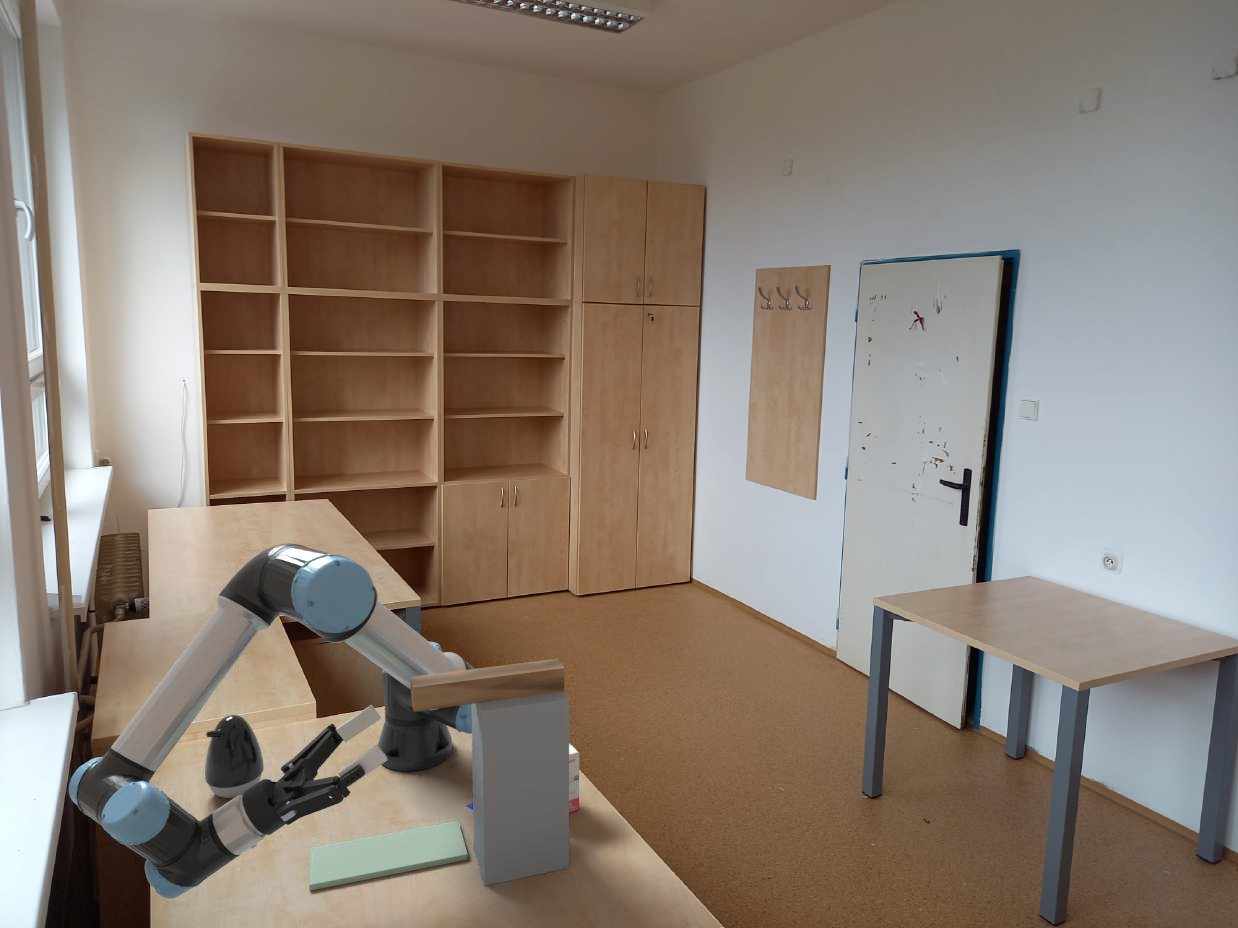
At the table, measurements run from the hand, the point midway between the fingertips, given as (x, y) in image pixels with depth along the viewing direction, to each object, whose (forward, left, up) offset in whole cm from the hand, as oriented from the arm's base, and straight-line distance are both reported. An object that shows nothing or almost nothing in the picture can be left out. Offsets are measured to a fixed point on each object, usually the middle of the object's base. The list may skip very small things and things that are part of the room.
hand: (379, 730), depth 132 cm
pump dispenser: (-37, -25, -27) cm, 52 cm away
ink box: (-12, +31, -27) cm, 43 cm away
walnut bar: (0, +17, +3) cm, 17 cm away
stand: (0, +22, -27) cm, 35 cm away
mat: (-8, +1, -27) cm, 28 cm away
